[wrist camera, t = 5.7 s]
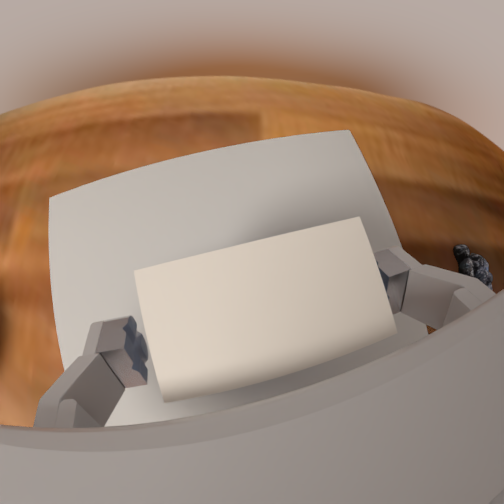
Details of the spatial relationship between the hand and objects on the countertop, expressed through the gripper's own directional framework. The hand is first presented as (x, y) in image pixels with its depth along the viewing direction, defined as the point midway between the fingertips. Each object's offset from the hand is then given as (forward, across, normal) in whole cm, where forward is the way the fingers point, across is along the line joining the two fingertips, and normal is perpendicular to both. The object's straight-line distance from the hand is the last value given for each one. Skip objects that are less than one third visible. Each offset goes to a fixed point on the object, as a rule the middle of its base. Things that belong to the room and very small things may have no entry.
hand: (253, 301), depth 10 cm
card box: (+3, 0, +4) cm, 4 cm away
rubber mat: (+4, 0, +3) cm, 5 cm away
